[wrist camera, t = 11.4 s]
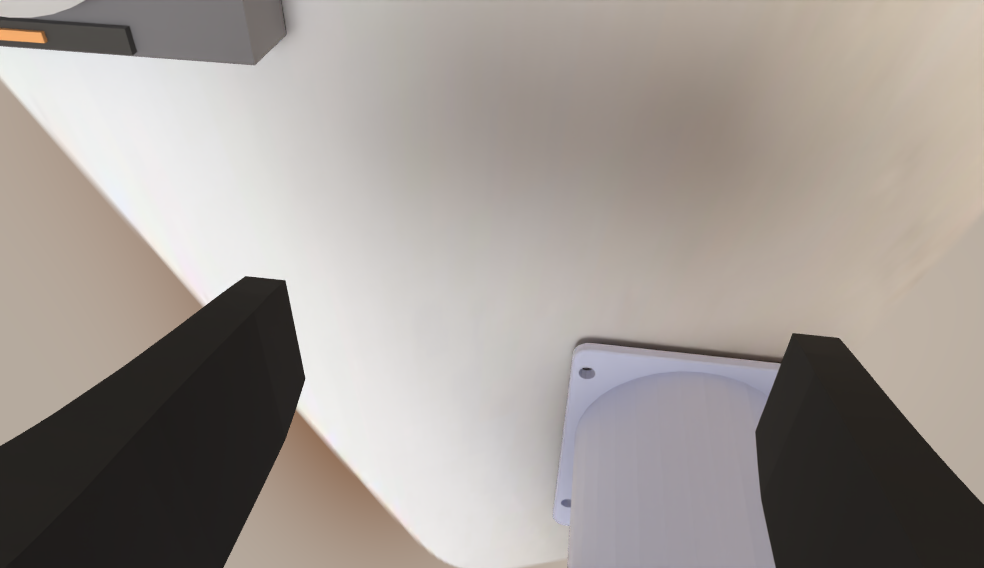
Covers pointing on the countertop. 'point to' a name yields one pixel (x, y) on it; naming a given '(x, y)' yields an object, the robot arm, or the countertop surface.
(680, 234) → the countertop surface
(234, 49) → the kitchen scale
